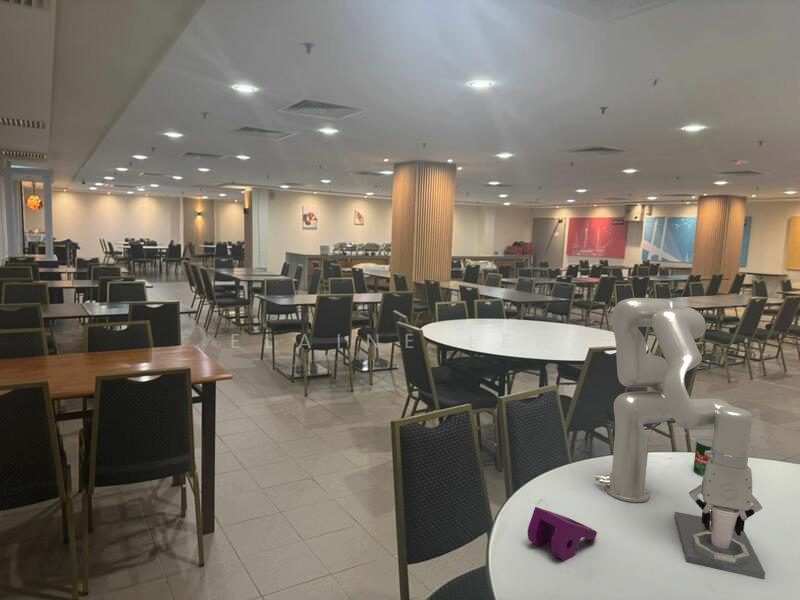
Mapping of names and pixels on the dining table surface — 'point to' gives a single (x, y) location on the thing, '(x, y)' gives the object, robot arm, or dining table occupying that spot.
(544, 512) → the mounting bracket
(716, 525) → the smoothie
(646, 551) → the dining table surface
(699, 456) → the canned tomato
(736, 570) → the grey base plate
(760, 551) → the dining table surface
